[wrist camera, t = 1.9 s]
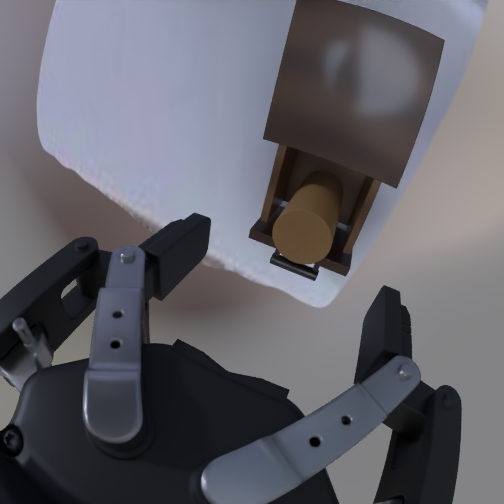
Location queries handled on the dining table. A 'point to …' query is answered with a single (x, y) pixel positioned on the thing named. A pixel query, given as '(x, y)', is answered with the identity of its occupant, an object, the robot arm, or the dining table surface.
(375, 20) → the cabinet
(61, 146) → the dining table surface
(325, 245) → the tan wooden cylinder
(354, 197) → the drawer
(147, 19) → the dining table surface
